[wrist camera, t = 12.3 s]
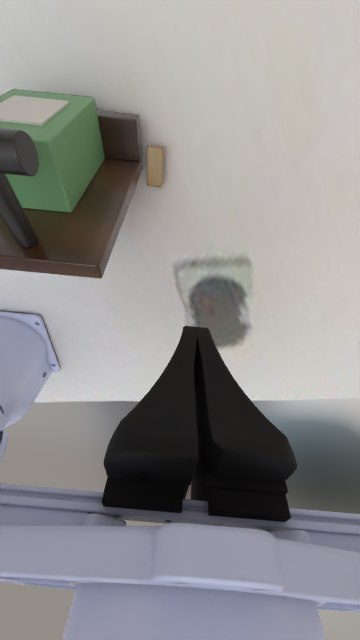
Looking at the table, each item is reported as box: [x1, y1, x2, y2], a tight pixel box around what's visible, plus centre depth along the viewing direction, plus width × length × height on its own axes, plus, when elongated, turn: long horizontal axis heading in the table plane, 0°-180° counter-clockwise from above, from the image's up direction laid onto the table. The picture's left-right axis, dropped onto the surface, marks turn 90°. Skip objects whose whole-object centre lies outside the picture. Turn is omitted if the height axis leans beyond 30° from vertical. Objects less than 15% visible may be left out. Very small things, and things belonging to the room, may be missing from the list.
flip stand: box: [0, 110, 142, 278], centre depth 12 cm, size 11×9×5 cm
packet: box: [0, 89, 105, 213], centre depth 12 cm, size 6×4×3 cm
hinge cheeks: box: [147, 145, 165, 187], centre depth 16 cm, size 2×12×2 cm, turn 85°
